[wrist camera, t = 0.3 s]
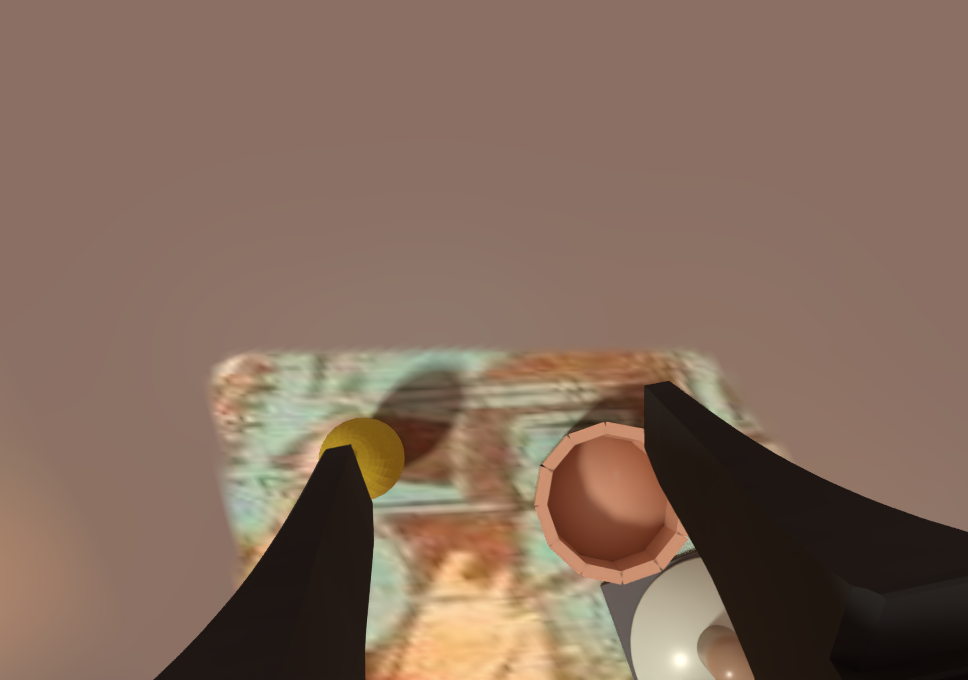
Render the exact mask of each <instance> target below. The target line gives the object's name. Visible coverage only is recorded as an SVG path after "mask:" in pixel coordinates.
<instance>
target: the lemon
mask: <svg viewBox="0 0 968 680" xmlns="http://www.w3.org/2000/svg"><path fill="white" fill-rule="evenodd" d="M349 444H351V445H352V448H353V451H354V454H355V456H356V459H357V462H358V464H359V467H360V470H361V473H362V475H363V478H364V481H365V484H366V486H367V489H368V492H369V494H370V497H371V499H374V498H376V497H379V496H381V495H383V494H385V493H386V492H387V491H388V490H390V489H391V488H392V487H393V486H394V485H395V483H396V482H397V481H398V479H399V478H400V475H401V473H402V470H403V467H404V461H405V455H404V448H403V445H402V442H401V439H400V438H399V436H398V435H397V434H396V432H395V431H394V430H393V429H392V428H391V427H390V426H388V425H387V424H385V423H383V422H381V421H379V420H376V419H371V418H355V419H352V420H349V421H345V422H343V423H342V424H340V425H339V426H337V427H335V428H334V429H333V430H332V431H331V432H330V433H329V434H328V435H327V437H326V439H325V440H324V442H323V444H322V446H321V449H320V453H319V460H320V458H321V456H322V454H323V452H324V451H325V450H326V449H329V448H334V447H339V446H344V445H349Z"/></svg>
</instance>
